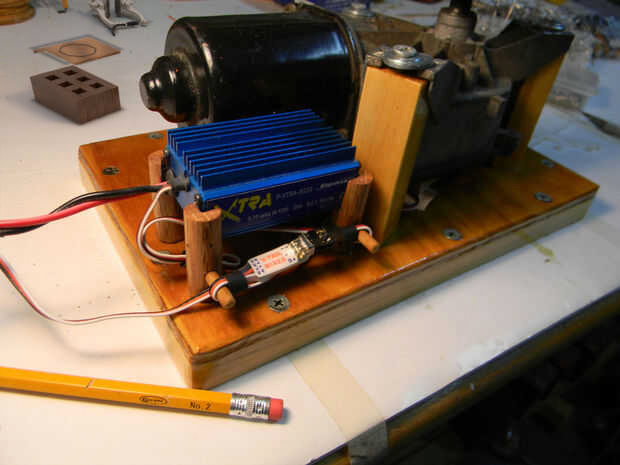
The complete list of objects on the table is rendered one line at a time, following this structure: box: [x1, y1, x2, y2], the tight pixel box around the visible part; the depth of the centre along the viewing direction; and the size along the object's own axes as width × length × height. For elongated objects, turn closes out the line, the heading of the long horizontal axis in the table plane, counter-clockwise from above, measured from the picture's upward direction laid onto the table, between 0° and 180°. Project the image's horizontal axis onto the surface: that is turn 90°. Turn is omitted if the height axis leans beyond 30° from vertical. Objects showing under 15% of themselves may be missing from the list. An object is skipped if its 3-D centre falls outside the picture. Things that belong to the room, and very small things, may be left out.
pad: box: [33, 36, 121, 66], centre depth 120 cm, size 16×12×1 cm
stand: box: [29, 64, 122, 125], centre depth 96 cm, size 10×14×6 cm
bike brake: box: [88, 0, 150, 37], centre depth 139 cm, size 14×7×20 cm
